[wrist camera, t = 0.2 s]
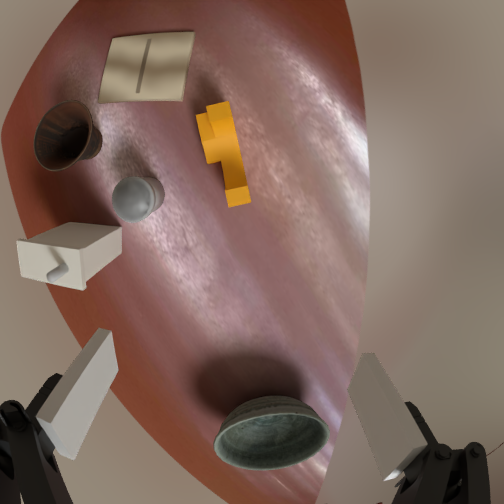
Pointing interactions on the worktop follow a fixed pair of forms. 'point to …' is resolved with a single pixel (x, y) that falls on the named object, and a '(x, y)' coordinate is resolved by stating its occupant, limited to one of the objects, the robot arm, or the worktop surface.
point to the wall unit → (69, 253)
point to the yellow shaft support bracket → (224, 150)
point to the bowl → (270, 434)
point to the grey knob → (137, 198)
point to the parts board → (147, 68)
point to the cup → (66, 136)
